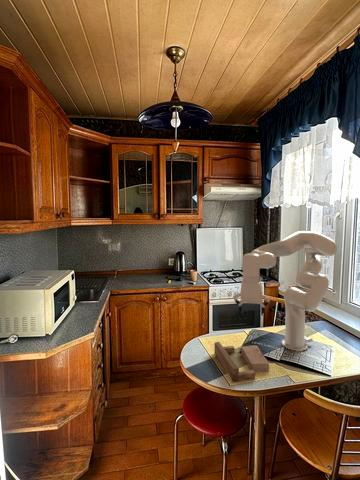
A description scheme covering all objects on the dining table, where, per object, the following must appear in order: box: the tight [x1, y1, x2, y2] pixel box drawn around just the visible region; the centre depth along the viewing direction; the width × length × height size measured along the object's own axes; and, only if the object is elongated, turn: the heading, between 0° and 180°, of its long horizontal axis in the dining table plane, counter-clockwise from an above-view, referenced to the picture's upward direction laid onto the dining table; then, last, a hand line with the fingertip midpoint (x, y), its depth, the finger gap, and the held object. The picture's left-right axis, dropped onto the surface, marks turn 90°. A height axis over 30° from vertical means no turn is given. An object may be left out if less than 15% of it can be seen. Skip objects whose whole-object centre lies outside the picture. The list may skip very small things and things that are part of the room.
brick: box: [241, 345, 270, 374], centre depth 128 cm, size 17×8×5 cm, turn 4°
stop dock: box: [214, 341, 256, 383], centre depth 125 cm, size 10×24×6 cm, turn 12°
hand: (251, 314), depth 129 cm, fingers open, 9 cm apart
